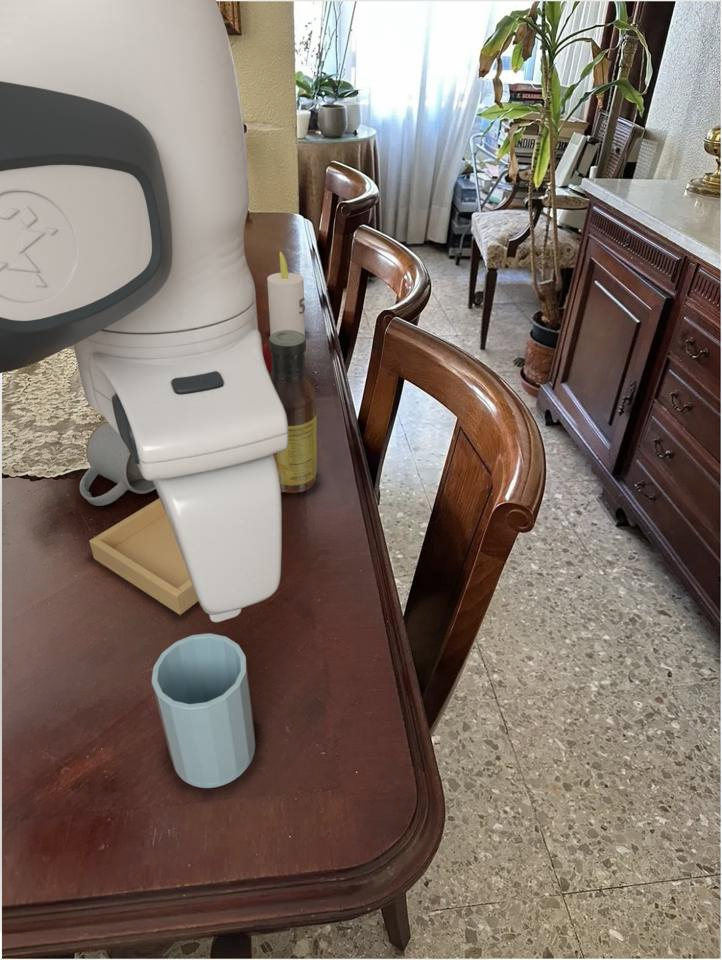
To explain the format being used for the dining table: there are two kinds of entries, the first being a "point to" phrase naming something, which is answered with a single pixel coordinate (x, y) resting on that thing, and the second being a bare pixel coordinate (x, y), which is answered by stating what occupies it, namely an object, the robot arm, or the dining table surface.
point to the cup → (205, 709)
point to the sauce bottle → (295, 411)
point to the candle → (286, 300)
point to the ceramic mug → (111, 466)
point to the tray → (147, 557)
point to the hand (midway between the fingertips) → (201, 560)
